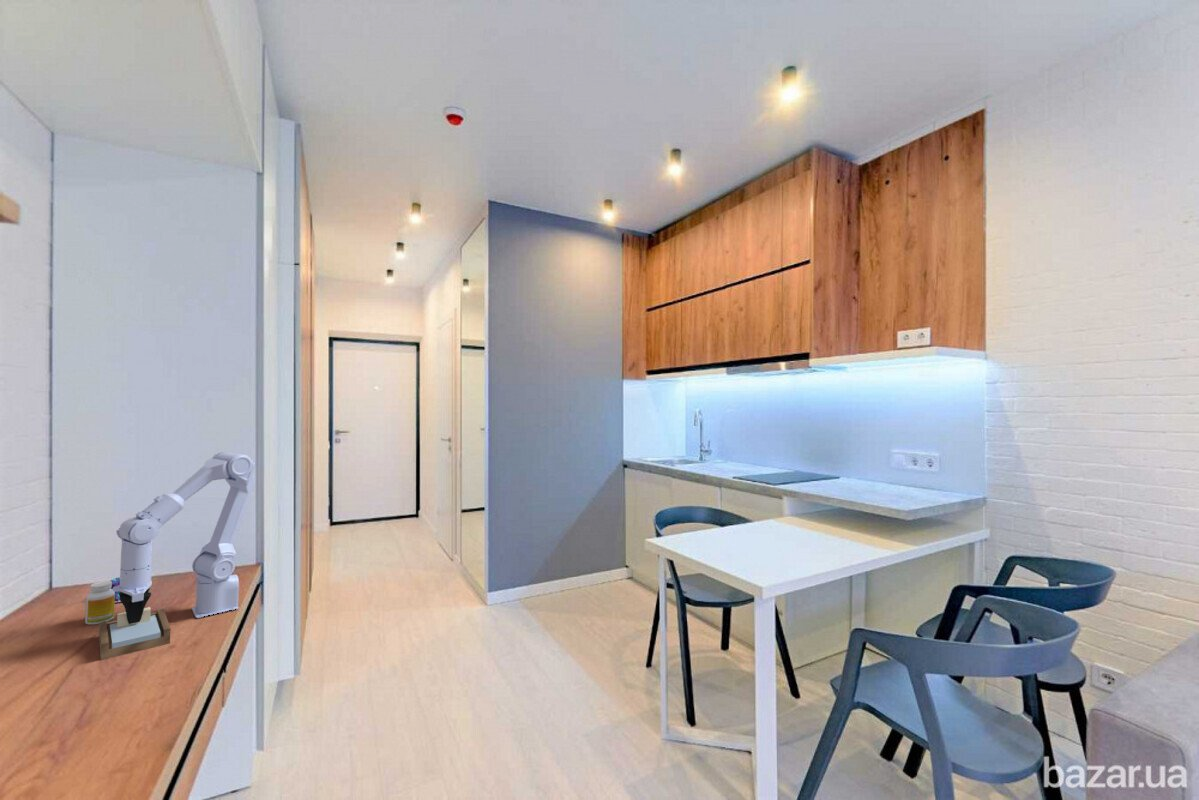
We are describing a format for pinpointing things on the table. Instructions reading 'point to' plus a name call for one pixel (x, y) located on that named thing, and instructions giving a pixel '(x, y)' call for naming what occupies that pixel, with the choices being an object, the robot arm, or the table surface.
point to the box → (108, 652)
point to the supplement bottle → (100, 603)
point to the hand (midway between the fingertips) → (133, 620)
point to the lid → (134, 629)
